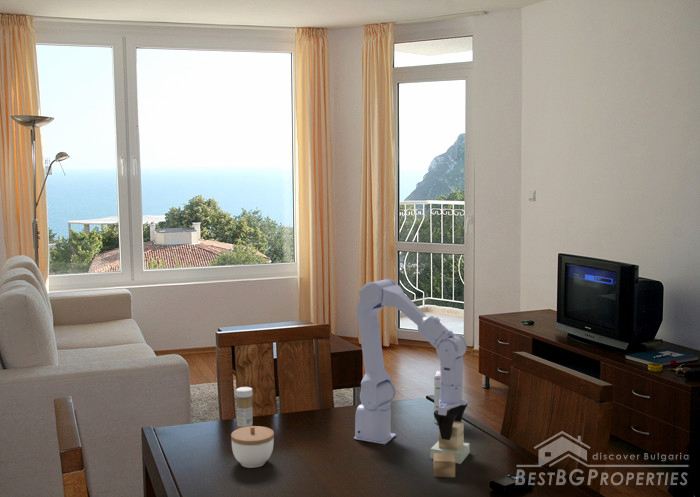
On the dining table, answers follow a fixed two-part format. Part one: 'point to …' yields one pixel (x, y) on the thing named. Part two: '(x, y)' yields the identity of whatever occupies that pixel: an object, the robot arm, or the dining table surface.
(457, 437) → the maple block
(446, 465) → the oak block
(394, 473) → the dining table surface
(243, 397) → the sprinkles bottle
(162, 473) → the dining table surface
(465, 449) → the plinth block
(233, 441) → the lidded jar
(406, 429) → the dining table surface
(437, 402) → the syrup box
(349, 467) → the dining table surface
